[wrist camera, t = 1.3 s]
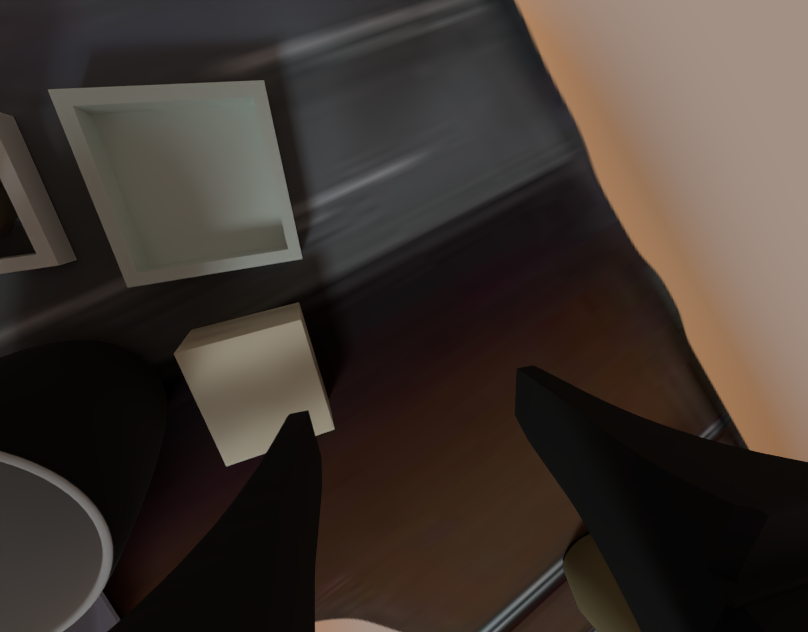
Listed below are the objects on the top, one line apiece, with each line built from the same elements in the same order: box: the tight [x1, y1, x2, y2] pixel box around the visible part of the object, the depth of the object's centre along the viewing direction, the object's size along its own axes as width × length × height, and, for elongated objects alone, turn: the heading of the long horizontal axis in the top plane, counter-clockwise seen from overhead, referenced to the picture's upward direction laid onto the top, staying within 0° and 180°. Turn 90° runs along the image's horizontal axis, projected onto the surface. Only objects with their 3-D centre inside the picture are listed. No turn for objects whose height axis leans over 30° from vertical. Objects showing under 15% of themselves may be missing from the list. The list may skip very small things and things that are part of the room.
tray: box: [48, 80, 302, 288], centre depth 17 cm, size 8×8×2 cm
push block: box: [174, 302, 334, 467], centre depth 20 cm, size 7×6×4 cm
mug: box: [0, 341, 167, 632], centre depth 15 cm, size 12×9×10 cm
